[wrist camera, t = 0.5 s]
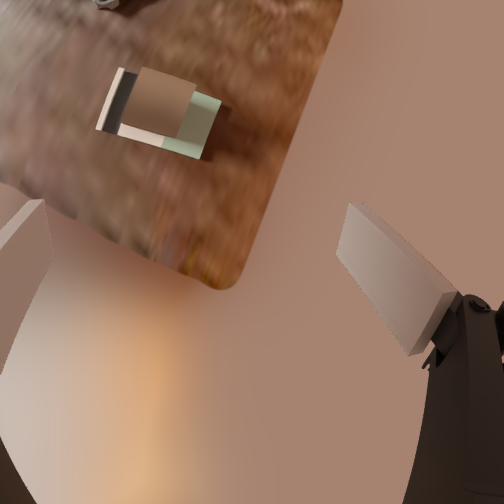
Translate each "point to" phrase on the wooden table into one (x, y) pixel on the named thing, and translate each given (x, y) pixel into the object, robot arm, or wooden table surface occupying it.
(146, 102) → the walnut block
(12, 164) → the wooden table surface
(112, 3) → the egg carton
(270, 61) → the wooden table surface
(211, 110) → the board
